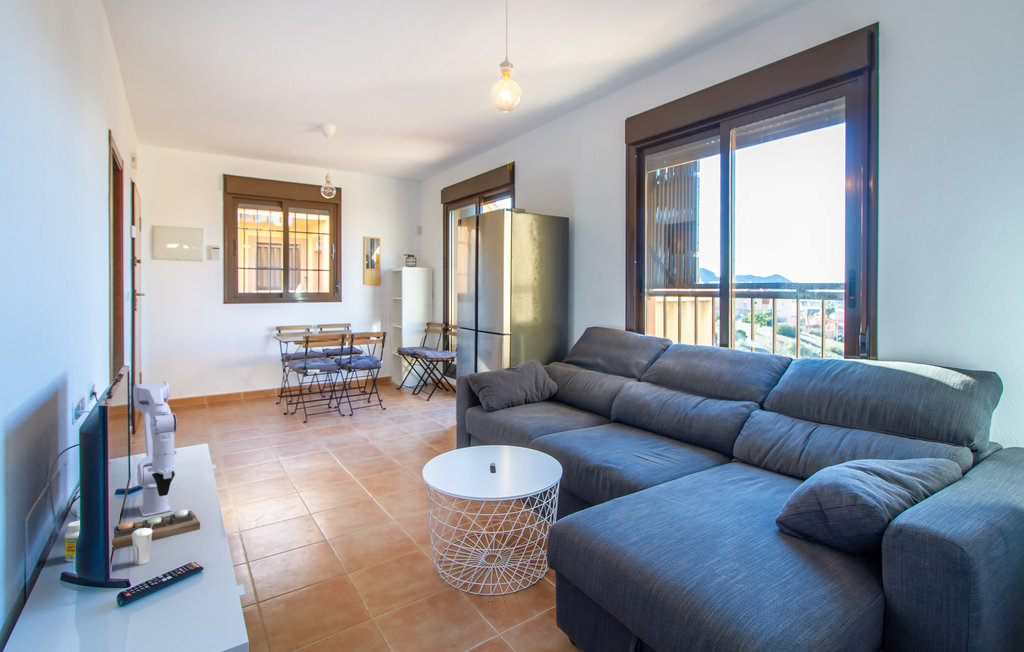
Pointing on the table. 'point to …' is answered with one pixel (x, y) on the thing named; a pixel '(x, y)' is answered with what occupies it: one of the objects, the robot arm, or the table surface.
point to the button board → (157, 529)
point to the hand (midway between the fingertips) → (163, 495)
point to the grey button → (180, 513)
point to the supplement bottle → (71, 540)
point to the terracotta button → (125, 525)
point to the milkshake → (142, 545)
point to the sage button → (153, 520)
